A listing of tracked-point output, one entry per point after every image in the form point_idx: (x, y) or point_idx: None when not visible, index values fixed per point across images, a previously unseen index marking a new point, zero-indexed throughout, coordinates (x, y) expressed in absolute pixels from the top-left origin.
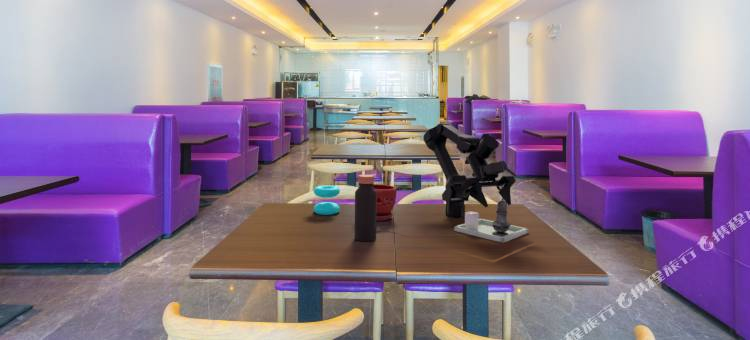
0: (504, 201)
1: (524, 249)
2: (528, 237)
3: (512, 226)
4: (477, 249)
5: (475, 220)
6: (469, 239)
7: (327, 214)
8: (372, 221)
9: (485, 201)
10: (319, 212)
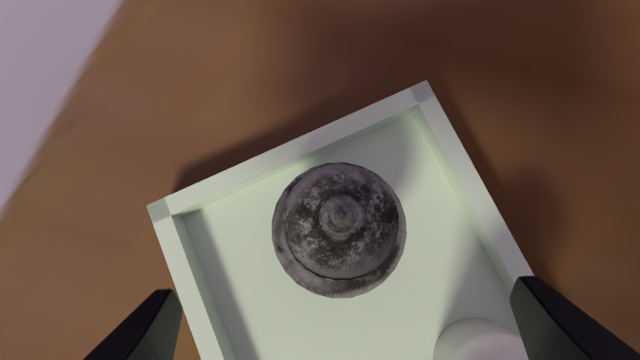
0: (323, 195)
1: (359, 7)
2: (200, 163)
3: (199, 290)
4: (592, 67)
5: (515, 342)
6: (553, 231)
7: None
8: None
9: (581, 317)
10: None
